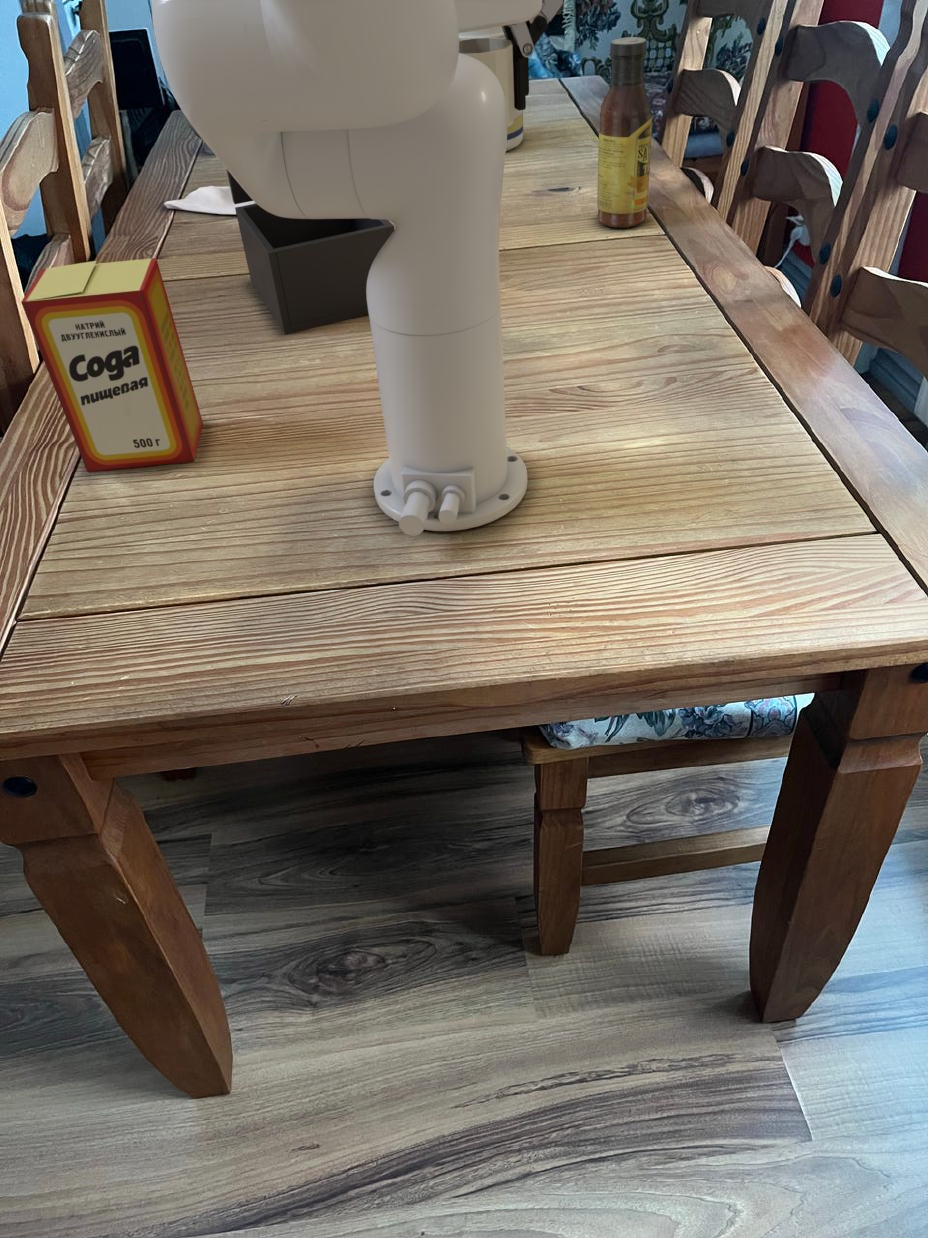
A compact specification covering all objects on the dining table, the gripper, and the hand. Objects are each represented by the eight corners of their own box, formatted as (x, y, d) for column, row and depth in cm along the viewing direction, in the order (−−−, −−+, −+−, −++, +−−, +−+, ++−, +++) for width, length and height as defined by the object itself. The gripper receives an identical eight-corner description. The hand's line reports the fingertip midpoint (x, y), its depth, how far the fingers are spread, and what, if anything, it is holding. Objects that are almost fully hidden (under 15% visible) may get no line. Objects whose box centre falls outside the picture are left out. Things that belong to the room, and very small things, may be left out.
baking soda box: (203, 423, 90) (155, 253, 79) (194, 460, 85) (141, 285, 74) (101, 433, 90) (40, 264, 79) (87, 471, 85) (19, 297, 74)
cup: (510, 132, 82) (507, 52, 78) (441, 133, 83) (435, 55, 79) (519, 112, 86) (517, 35, 82) (454, 113, 87) (449, 38, 83)
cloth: (152, 223, 132) (147, 206, 130) (174, 189, 142) (169, 173, 141) (340, 210, 131) (338, 192, 130) (348, 177, 141) (346, 160, 140)
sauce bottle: (645, 230, 118) (655, 46, 105) (594, 230, 119) (598, 47, 106) (648, 211, 123) (658, 32, 110) (599, 211, 124) (603, 34, 111)
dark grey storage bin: (403, 306, 107) (394, 225, 101) (284, 334, 103) (268, 252, 97) (359, 259, 118) (349, 183, 112) (251, 283, 114) (234, 207, 108)
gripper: (372, -134, 67) (401, 142, 79) (593, -161, 71) (589, 106, 83) (342, -140, 73) (374, 119, 85) (550, -165, 76) (552, 87, 89)
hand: (480, 110), depth 84 cm, fingers closed on cup, 5 cm apart
